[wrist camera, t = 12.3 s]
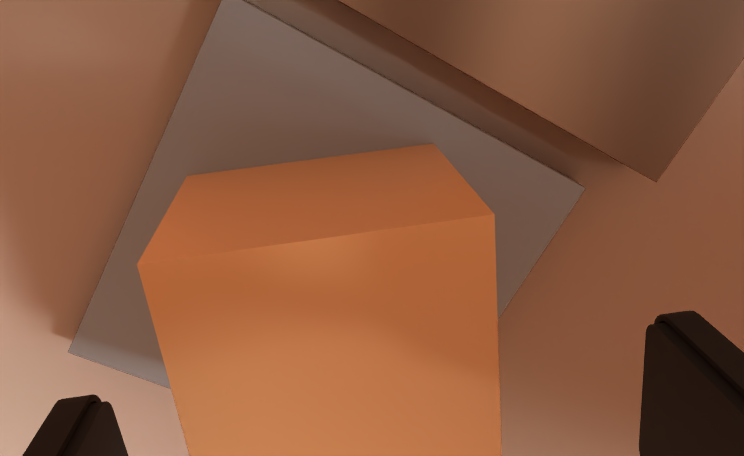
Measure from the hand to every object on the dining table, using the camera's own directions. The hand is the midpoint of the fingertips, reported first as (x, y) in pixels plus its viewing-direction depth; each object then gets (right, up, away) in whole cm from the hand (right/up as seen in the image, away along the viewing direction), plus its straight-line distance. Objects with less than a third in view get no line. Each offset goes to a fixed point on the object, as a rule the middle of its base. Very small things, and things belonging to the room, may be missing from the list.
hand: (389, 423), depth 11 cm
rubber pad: (-2, +2, +6) cm, 7 cm away
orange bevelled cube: (-1, +2, +5) cm, 6 cm away
